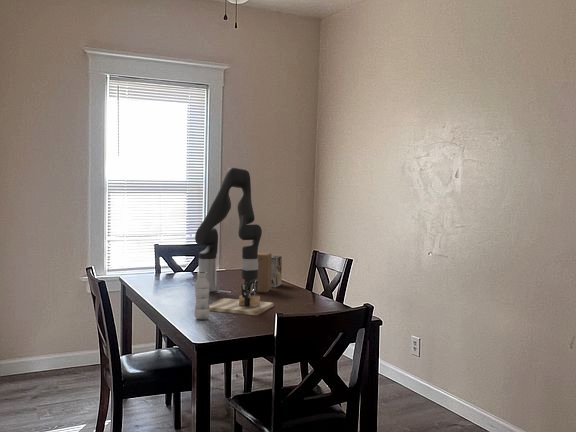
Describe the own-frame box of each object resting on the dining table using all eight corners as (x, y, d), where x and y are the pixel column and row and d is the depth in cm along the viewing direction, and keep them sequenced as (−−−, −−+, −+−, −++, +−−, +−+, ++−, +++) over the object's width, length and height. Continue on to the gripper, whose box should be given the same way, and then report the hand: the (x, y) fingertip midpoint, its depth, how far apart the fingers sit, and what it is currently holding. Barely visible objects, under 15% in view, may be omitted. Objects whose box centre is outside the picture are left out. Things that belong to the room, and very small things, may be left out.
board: (204, 310, 264) (204, 306, 264) (223, 301, 283) (223, 298, 283) (257, 315, 255) (257, 312, 255) (273, 305, 274) (273, 302, 274)
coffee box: (270, 283, 329) (271, 255, 328) (281, 284, 327) (282, 256, 326) (265, 286, 320) (265, 257, 319) (276, 287, 318) (276, 258, 317)
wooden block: (267, 293, 303) (267, 255, 301) (248, 292, 305) (248, 254, 303) (271, 289, 313) (271, 252, 311) (253, 288, 315) (253, 251, 313)
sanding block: (239, 305, 267) (239, 296, 266) (244, 303, 271) (244, 294, 271) (254, 307, 263) (254, 297, 263) (259, 305, 268) (259, 295, 267)
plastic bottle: (194, 317, 251) (194, 271, 249) (210, 317, 251) (210, 271, 250) (193, 321, 244) (193, 274, 243) (209, 321, 245) (210, 274, 243)
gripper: (248, 265, 274) (248, 301, 275) (235, 269, 260) (235, 307, 262) (263, 266, 271) (263, 302, 273) (251, 271, 258) (250, 308, 259)
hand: (249, 304), depth 267 cm, fingers closed on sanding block, 5 cm apart
